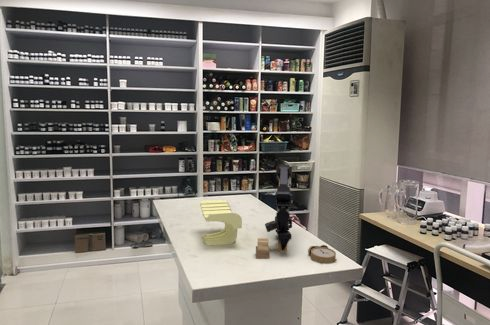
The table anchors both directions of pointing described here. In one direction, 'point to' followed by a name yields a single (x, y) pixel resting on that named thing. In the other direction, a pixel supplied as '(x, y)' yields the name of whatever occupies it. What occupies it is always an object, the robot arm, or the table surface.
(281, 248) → the grey-faced wooden cube
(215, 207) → the slatted curved stool
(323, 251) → the alarm clock
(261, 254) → the walnut block
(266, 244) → the oak block
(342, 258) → the table surface
